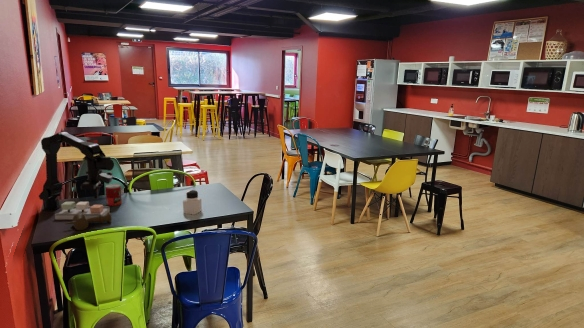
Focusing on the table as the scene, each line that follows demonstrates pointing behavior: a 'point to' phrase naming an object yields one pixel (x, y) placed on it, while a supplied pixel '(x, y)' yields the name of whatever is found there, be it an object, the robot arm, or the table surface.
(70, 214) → the keypad base
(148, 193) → the table surface
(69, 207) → the key sage
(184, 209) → the medicine bottle
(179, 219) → the table surface
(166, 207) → the table surface
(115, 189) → the canned food
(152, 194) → the table surface
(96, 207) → the key terracotta
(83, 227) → the kendama
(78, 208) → the key white
